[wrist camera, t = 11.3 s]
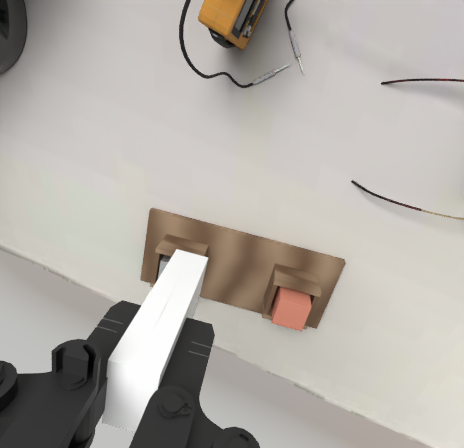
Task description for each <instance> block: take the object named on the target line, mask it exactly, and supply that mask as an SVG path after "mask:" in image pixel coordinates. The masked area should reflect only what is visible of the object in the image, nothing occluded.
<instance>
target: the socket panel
mask: <svg viewBox="0 0 464 448" xmlns="http://www.w3.org/2000/svg"><path fill="white" fill-rule="evenodd" d="M176 249H178V250H182V251H186V252H189V253H193V254H197V255H200V256H204V257H208V261H207V266H206V270H205V274H204V279H203V283H202V287H201V292H200V297H204V298H207V299H211V300H215V301H218V302H222V303H225V304H229V305H233V306H236V307H240V308H244V309H247V310H251V311H254V312H258V313H262V317H263V318H266V319H270V320H272V302H273V298H274V295H275V292H276V289H277V286H281V287H285V288H288V289H292V290H296V291H299V292H303V293H307V294H310V300H311V310H310V312H309V315H308V317H307V319H306V322H305V324H304V327H303V329H306V328H307V326H309V327H312V328H316V329H317V326H318V324H319V322H320V320H321V317H322V315H323V313H324V310H325V308H326V306H327V304H328V301H329V299H330V297H331V294H332V292H333V290H334V288H335V285H336V283H337V281H338V279H339V276H340V274H341V272H342V269H343V267H344V265H345V261H344V259H341V258H337V257H333V256H330V255H326V254H322V253H318V252H315V251H311V250H307V249H304V248H300V247H296V246H292V245H289V244H285V243H281V242H278V241H274V240H270V239H266V238H263V237H259V236H255V235H251V234H248V233H244V232H240V231H237V230H233V229H229V228H225V227H222V226H218V225H214V224H210V223H207V222H203V221H199V220H196V219H192V218H188V217H184V216H181V215H177V214H173V213H170V212H166V211H162V210H158V209H155V208H152V209H151V210H150V212H149V220H148V227H147V235H146V242H145V250H144V257H143V265H142V272H141V280H142V281H146V282H149V283H151V284H150V287H153V286H154V285H155V283H156V282H157V280H158V275H159V268H160V262H161V260H162V258H163V257H164V255H167V256H171V257H172V256H173V254H174V253H175V251H176Z"/></svg>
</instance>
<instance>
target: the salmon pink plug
mask: <svg viewBox="0 0 464 448" xmlns="http://www.w3.org/2000/svg"><path fill="white" fill-rule="evenodd" d="M310 310H311V300H310V294H307V293H303V292H299V291H296V290H292V289H288V288H285V287H281V286H277V289H276V292H275V295H274V298H273V302H272V323H274V324H277V325H281V326H284V327H288V328H292V329H295V330H299V331H302V329H303V327H304V324H305V322H306V319H307V317H308V315H309V312H310Z"/></svg>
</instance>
